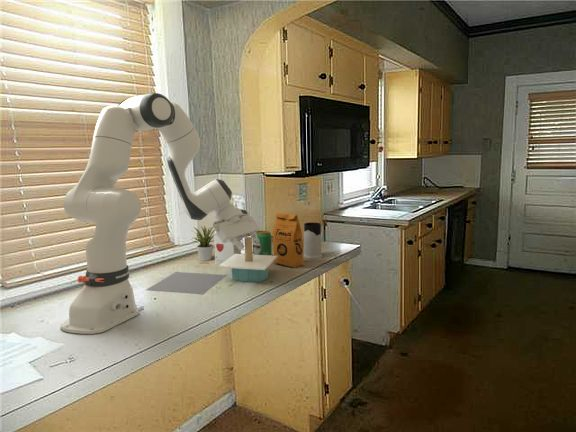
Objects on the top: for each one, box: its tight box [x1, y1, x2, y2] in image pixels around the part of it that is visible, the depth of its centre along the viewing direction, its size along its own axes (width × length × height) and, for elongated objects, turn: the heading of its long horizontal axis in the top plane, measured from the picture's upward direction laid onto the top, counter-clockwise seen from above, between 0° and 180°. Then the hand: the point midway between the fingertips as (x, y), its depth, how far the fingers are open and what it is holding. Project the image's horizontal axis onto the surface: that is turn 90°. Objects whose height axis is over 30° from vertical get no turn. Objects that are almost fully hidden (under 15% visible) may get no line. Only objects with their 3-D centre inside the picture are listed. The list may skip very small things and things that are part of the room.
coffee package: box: [272, 212, 304, 269], centre depth 178 cm, size 10×12×22 cm
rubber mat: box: [145, 271, 227, 295], centre depth 156 cm, size 22×22×1 cm
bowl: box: [230, 266, 269, 283], centre depth 163 cm, size 14×14×6 cm
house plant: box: [191, 225, 216, 262], centre depth 189 cm, size 14×14×16 cm
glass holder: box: [303, 221, 324, 259], centre depth 194 cm, size 9×14×15 cm, turn 147°
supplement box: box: [213, 230, 242, 266], centre depth 181 cm, size 9×9×15 cm
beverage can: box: [253, 230, 273, 256], centre depth 190 cm, size 8×8×12 cm
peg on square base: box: [217, 236, 277, 270], centre depth 161 cm, size 18×18×10 cm
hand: (249, 245), depth 161 cm, fingers open, 8 cm apart
